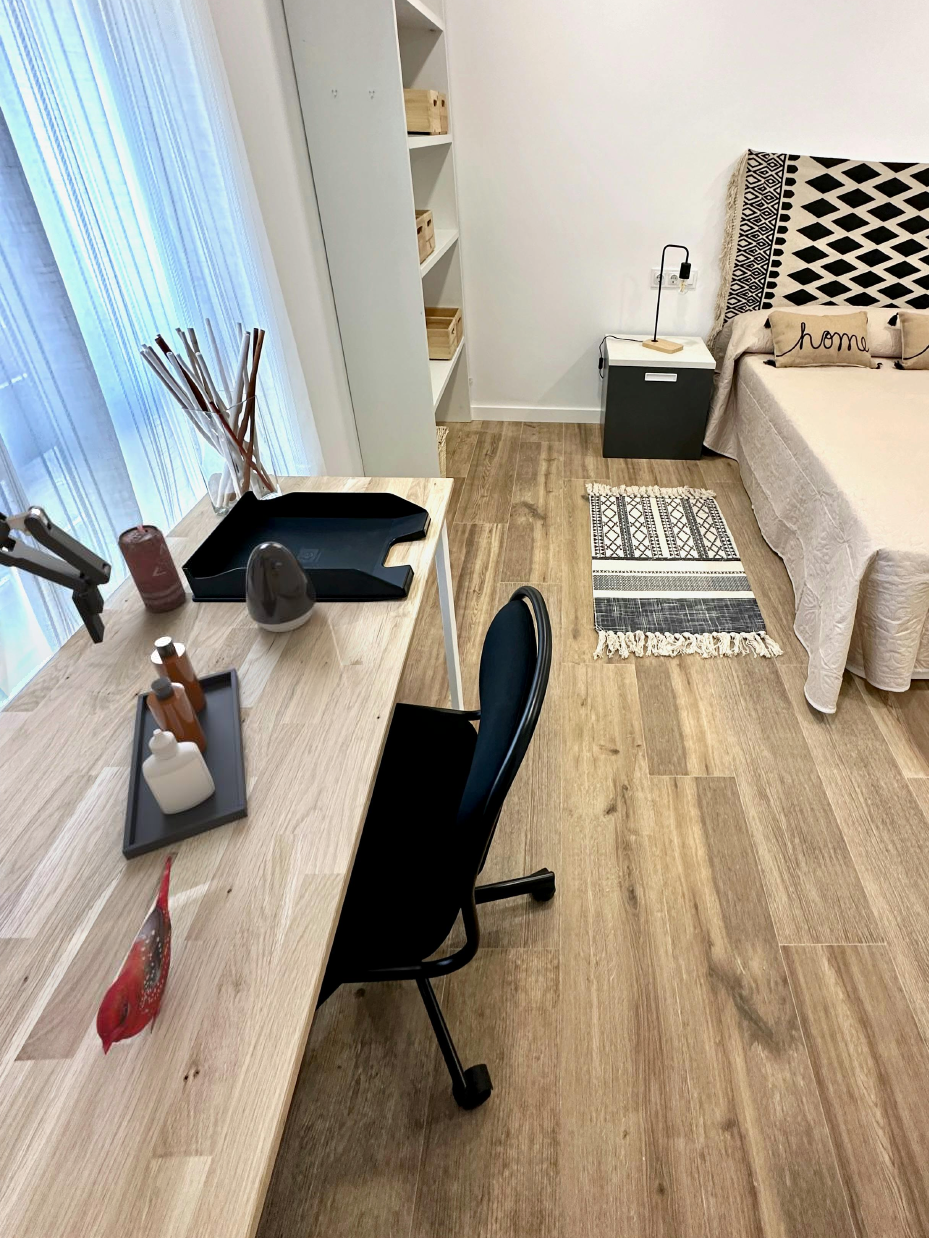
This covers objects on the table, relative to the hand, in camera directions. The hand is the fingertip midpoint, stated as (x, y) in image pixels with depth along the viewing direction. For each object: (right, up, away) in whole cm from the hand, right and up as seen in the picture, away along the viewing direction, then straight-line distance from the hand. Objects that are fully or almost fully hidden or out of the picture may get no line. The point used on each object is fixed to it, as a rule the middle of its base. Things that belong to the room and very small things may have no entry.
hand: (24, 653), depth 68 cm
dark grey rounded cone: (+11, -2, +37) cm, 39 cm away
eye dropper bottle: (+13, -19, +9) cm, 25 cm away
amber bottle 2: (+9, -15, +15) cm, 23 cm away
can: (-11, +1, +40) cm, 42 cm away
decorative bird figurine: (+20, -30, -7) cm, 37 cm away
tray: (+9, -16, +14) cm, 24 cm away
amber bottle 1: (+5, -11, +21) cm, 24 cm away
